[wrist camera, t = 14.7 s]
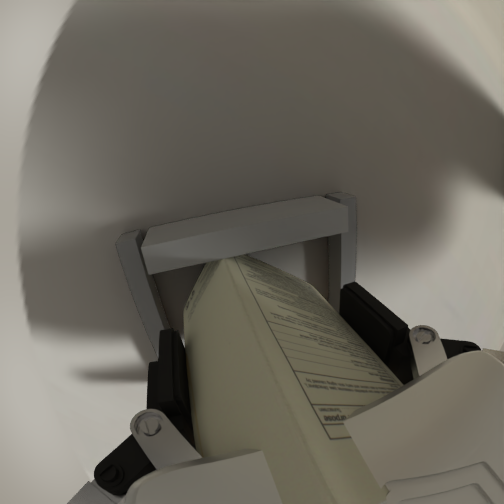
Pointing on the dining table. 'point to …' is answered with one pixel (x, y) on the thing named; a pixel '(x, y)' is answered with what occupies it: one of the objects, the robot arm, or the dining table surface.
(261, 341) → the skincare box
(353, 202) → the grey shallow rectangular tray
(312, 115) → the dining table surface
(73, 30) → the dining table surface
